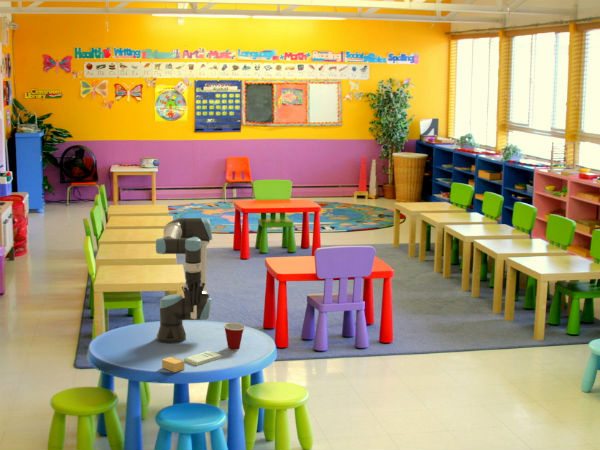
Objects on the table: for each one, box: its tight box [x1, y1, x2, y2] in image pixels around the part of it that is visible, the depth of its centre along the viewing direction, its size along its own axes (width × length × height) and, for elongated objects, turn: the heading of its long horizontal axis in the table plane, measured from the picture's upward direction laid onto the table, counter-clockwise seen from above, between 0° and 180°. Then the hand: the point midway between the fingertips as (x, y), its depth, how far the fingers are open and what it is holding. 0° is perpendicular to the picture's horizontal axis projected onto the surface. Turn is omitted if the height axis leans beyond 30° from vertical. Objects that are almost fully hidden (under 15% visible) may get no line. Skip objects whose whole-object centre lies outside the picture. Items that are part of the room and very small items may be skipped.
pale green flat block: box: [183, 350, 222, 366], centre depth 395 cm, size 9×16×2 cm, turn 138°
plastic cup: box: [223, 322, 246, 351], centre depth 412 cm, size 11×11×12 cm
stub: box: [161, 356, 185, 373], centre depth 381 cm, size 9×6×4 cm, turn 48°
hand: (193, 318), depth 391 cm, fingers closed
